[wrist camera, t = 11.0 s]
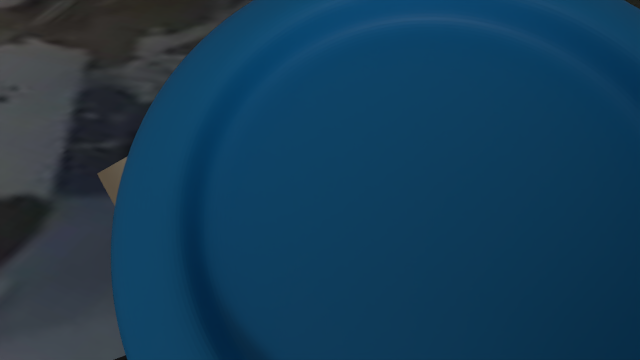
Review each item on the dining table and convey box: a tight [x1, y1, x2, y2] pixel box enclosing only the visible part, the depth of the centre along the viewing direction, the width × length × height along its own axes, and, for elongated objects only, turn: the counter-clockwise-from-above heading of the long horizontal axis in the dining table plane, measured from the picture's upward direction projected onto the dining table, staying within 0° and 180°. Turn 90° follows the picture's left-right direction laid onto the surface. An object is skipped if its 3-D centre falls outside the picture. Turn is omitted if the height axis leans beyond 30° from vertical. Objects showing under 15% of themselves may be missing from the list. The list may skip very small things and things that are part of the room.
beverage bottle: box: [111, 0, 640, 360], centre depth 13 cm, size 8×8×20 cm
